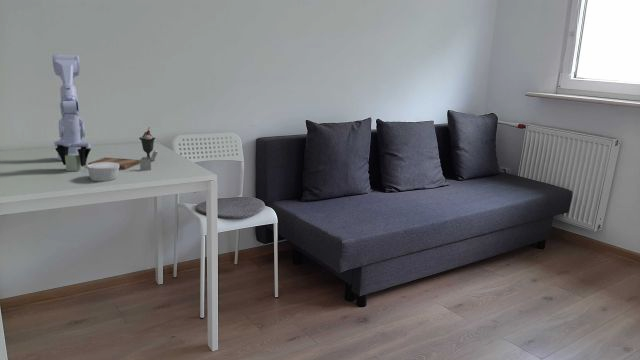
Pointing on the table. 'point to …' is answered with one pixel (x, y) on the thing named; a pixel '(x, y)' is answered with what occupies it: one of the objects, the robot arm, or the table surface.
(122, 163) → the board
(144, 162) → the lighter
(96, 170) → the ramekin
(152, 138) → the sundae
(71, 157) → the block
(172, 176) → the table surface
